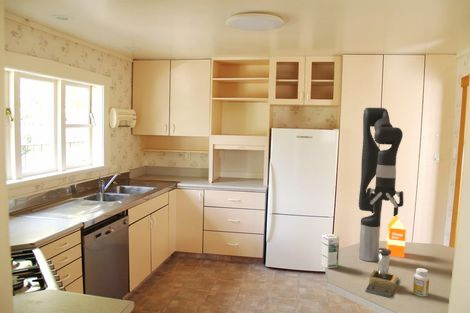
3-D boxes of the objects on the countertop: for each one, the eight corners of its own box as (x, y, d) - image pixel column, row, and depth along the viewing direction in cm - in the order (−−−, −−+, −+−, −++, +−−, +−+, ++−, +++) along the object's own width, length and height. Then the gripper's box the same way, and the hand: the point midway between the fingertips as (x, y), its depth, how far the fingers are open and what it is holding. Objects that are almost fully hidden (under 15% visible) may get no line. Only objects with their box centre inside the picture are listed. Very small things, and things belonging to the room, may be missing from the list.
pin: (377, 281, 152) (379, 247, 151) (389, 284, 150) (392, 249, 149) (374, 286, 148) (376, 250, 147) (387, 289, 146) (390, 253, 144)
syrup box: (327, 268, 165) (328, 237, 164) (320, 264, 171) (322, 234, 170) (338, 267, 167) (339, 237, 166) (331, 263, 173) (333, 233, 172)
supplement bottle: (423, 290, 145) (425, 267, 144) (431, 296, 140) (432, 272, 139) (410, 290, 145) (411, 267, 144) (417, 296, 139) (419, 272, 139)
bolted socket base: (376, 274, 160) (376, 265, 160) (398, 279, 155) (398, 270, 155) (365, 291, 143) (366, 281, 142) (390, 297, 138) (390, 287, 137)
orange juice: (387, 255, 186) (390, 217, 184) (386, 250, 194) (388, 214, 193) (404, 257, 184) (406, 219, 182) (401, 252, 192) (404, 215, 191)
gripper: (405, 176, 147) (403, 215, 149) (369, 173, 155) (367, 210, 156) (403, 178, 141) (401, 219, 142) (365, 175, 148) (363, 213, 150)
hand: (383, 214), depth 149 cm, fingers open, 8 cm apart
